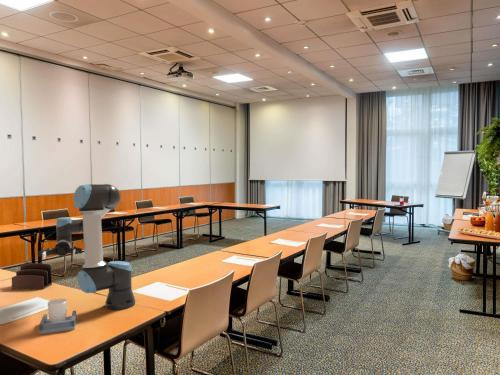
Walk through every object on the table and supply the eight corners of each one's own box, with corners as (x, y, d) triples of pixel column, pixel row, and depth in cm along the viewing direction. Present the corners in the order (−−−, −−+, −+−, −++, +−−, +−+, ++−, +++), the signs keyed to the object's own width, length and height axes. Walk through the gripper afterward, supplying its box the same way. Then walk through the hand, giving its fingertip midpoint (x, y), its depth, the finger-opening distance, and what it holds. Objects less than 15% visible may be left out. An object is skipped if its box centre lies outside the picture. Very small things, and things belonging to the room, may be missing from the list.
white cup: (49, 321, 178) (49, 299, 177) (68, 318, 180) (67, 297, 180) (47, 327, 170) (46, 305, 170) (66, 324, 173) (66, 302, 173)
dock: (43, 322, 180) (43, 314, 179) (76, 318, 185) (76, 310, 184) (39, 334, 166) (39, 325, 166) (74, 329, 172) (74, 320, 171)
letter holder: (21, 284, 243) (20, 262, 242) (52, 284, 242) (51, 262, 242) (11, 289, 233) (10, 266, 232) (43, 289, 232) (43, 266, 232)
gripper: (87, 252, 213) (86, 260, 193) (36, 256, 204) (30, 265, 184) (87, 239, 213) (86, 245, 193) (36, 242, 203) (29, 249, 184)
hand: (58, 255), depth 188 cm, fingers open, 13 cm apart
